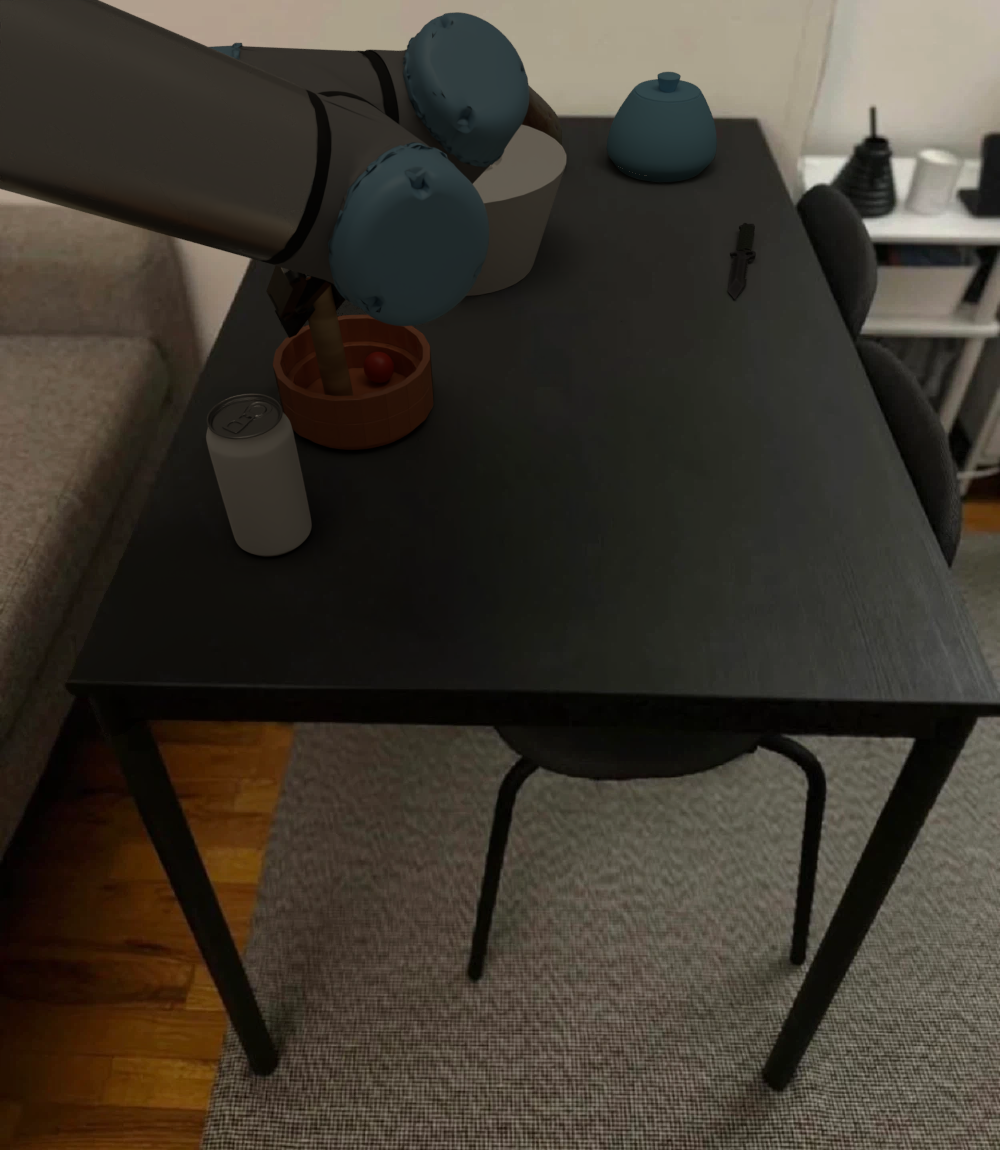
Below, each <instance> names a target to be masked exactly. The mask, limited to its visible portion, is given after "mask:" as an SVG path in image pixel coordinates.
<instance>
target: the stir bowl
mask: <svg viewBox="0 0 1000 1150" xmlns="http://www.w3.org/2000/svg"><path fill="white" fill-rule="evenodd" d="M337 317H338V322H339V327H340V331H341V336H342V341H343V346H344V351H345V356H346V361H347V366H348V371H349V375H350V380H351V385H352V390H353V396H331V395H325V393H324V388H323V384H322V380H321V375H320V371H319V366H318V362H317V358H316V353H315V349H314V344H313V340H312V336H311V331H310V327H309V324H306V325H303V327H302V328H301V329H300V331H299V332H298V333H297V335H296V336H293V337H291V338H289V337H288V336H287V337H285V338H284V339H283V341H282V342H281V343H280V345H279V346H278V347H277V348H276V349H275V352H274V356H273V360H272V368H273V373H274V378H275V383H276V387H277V392H278V397H279V403H280V404H281V406H282V409H283V413H284V414H285V415H286V416H287V417H288V419H289V421H290V423H291V426H292V430H293V432H295V433H296V434H297V435H298V436H300V437H302V438H304V439H306V440H308V441H310V442H312V443H314V444H316V445H320V446H322V447H326V448H329V449H335V450H345V451H358V450H368V449H373V448H379V447H381V446H386V445H390V444H391V443H394V442H397V441H398V440H399V441H400V440H401V439H402V438H404V437H406V436H408V435H409V434H411V433H412V432H413V431H414V430H415V429H416V428H418V427H419V426H420V425H421V424H423V422H425V420H427V418H428V416H429V415H430V412H431V411H432V409H433V407H434V379H433V366H432V351H431V345H430V343H429V342H428V339H427V338H426V336H425V334H424V333H422V332H421V331H420V330H419V329H417V328H416V327H415V326H414V325H413V326H395V325H391V324H386V323H383V322H381V321H378V320H376V319H374V318H372V317H371V316H369V315H368V314H343V315H337ZM373 352H383V353H386V354H387V355H389V356H390V357H391V359H392V361H393V363H394V372H393V375H392V377H391V378H390V379H389V380H388V381H386V382H383V383H375V382H373V381H371V380H369V379H368V378H367V376H366V375H365V373H364V369H363V365H364V361H365V359H366V358H367V356H368V355H370V354H371V353H373Z"/></svg>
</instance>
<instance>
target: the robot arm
mask: <svg viewBox="0 0 1000 1150" xmlns="http://www.w3.org/2000/svg"><path fill="white" fill-rule="evenodd" d="M529 86H530V85H529V78H528V75H527V73H526V69H525V66H524V63H523V60H522V58H521V56H520V54H519V53H518V50H517V48H516V47H515V46H514V45H513V43H512V42H511V41H510V40H509V38H508V37H507V36H506V35H505V34H504V33H503V32H502V31H500V30H499V28H497V27H496V26H495V25H493V24H492V23H490V22H489V21H487V20H485V19H484V18H481V17H479V16H477V15H474V14H471V13H466V12H460V11H459V12H446V13H443V14H442V15H438V16H437V17H435V18H433V19H430V21H428V22H427V23H426V24H424V25H423V27H422V28H421V29H420V31H418V32H417V33H416V35H415V36H412V37H410V38H409V40H408V44H407V45H406V49H403V50H402V49H401V50H392V49H391V50H390V49H365V50H347V49H346V50H344V49H343V50H341V49H321V48H320V49H319V48H317V49H316V48H299V47H298V48H296V47H275V46H251V45H250V46H249V45H248V46H247V45H243V42H234V43H233V44H232V45H217V46H216V45H214V46H207V45H205V44H203V43H201V42H198V41H196V40H193V39H191V38H188V37H187V36H184V35H181V34H179V33H177V32H175V31H172V30H170V29H168V28H165V27H162V26H161V25H158V24H156V23H153V22H151V21H148V20H146V19H144V18H142V17H139V16H138V15H137V16H136V15H135V14H132V13H130V12H127V11H126V10H124V9H123V10H122V9H120V8H118V7H116V6H113V5H111V4H109V3H106V2H104V1H102V0H0V190H2V191H7V192H10V193H14V194H17V195H21V196H23V197H24V196H25V197H27V198H31V199H35V200H38V201H43V202H46V203H49V204H54V205H57V206H60V207H64V208H67V209H72V210H75V211H79V212H82V213H85V214H89V215H92V216H96V217H100V218H103V219H108V220H111V221H115V222H118V223H122V224H126V225H129V226H132V227H136V228H139V229H143V230H147V231H151V232H154V233H157V234H158V233H159V234H161V235H164V236H169V237H172V238H176V239H179V240H183V241H186V242H189V243H193V244H197V245H201V246H204V247H208V248H212V249H214V250H215V249H216V250H218V251H221V252H222V251H223V252H226V253H229V254H233V255H237V256H240V257H244V258H248V259H251V260H255V261H258V262H261V263H265V264H270V265H272V266H274V269H273V272H272V274H271V277H270V279H269V283H268V285H267V288H266V293H267V296H268V297H269V299H270V301H271V303H272V306H273V307H274V309H275V310H274V313H275V315H276V316H277V318H278V320H279V322H280V324H281V326H282V327H283V329H284V332H285V333H286V336H287V337H289V338H291V337H293V336H296V335H297V333H298V332H299V331H300V329H301V328H302V327H304V326H305V324H306V323H307V322H308V319H309V317H310V316H311V315H312V313H313V312H314V311H315V308H314V306H313V304H314V303H315V302H316V300H317V299H318V298H319V297H320V296H321V295H322V294H323V293H324V292H325V291H326V290H327V289H328V287H329V286H330V285H331V288H332V292H333V297H334V302H335V307H336V312H338V310H339V308H341V306H342V304H343V303H344V302H345V301H348V302H349V303H350V304H352V305H353V306H354V307H357V308H359V309H361V310H362V311H363V312H364V313H365V314H366V315H369V316H371V317H372V318H374V319H376V320H378V321H381V322H383V323H386V324H391V325H395V326H413V327H414V326H418V325H423V324H426V323H429V322H431V321H434V320H437V319H439V318H441V317H442V316H444V315H446V314H447V313H449V312H450V311H451V310H452V309H454V308H455V307H456V306H458V304H459V303H460V302H462V301H463V300H464V298H466V297H467V296H466V295H467V293H468V292H469V291H470V290H471V288H472V287H473V285H474V283H475V282H476V279H477V277H478V275H479V274H480V272H481V269H482V265H483V263H484V261H485V258H486V255H487V251H488V245H489V221H488V216H487V211H486V208H485V206H484V203H483V200H482V199H481V197H480V195H479V193H478V191H477V190H476V188H475V187H474V186H473V183H474V182H475V181H476V180H477V179H478V178H479V177H480V176H481V174H482V173H483V172H484V171H485V170H486V169H487V168H488V167H489V166H490V165H493V163H494V162H496V161H498V160H499V159H500V157H501V156H502V155H503V153H504V150H505V148H506V146H507V145H508V143H509V142H510V140H511V139H512V137H513V136H514V134H515V133H516V132H517V130H518V129H519V127H520V126H521V124H522V123H523V121H524V118H525V116H526V113H527V110H528V105H529Z"/></svg>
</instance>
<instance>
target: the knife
mask: <svg viewBox="0 0 1000 1150" xmlns="http://www.w3.org/2000/svg"><path fill="white" fill-rule="evenodd" d="M755 228H756V225H755V224H754V223H748V222H743V223H742V224H739V226H738V230H739V233H738V239H737V246H736V251H730V252H729V257H730V258H732V262H731V268H730V274H729V279H728V287H727V292H728V293H729V295H730V296H731V297H732V298H733V299H734V300H736V299H737V298H738V296H739V295H740V294H741V293H742V292H743V290H744V288H745V287H746V285H747V275H748V270H749V269H748V267H749V261H751V260H756V256H757V252H756V251H755V250H752V249H753V244H754V237H755V231H756V230H755Z"/></svg>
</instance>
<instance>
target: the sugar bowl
mask: <svg viewBox="0 0 1000 1150" xmlns="http://www.w3.org/2000/svg"><path fill="white" fill-rule="evenodd" d="M681 77H682V76H681V75H680V74H679V73H678V72H676V71H675V72H674V71H662V72H660V73H658V74H657V78H655V79H648V80H645V81H642V82H640V83H637V84H636V85H635V86H634V87H633V88H632V90H631V91H630V92H629V94H628V95H627V96H626V98H625V99H624V100H623V102H622V103H621V105H620V107H619V109H618V110H617V112H616V113H615V115H614V117H613V121H612V122H611V125H610V128H609V131H608V135H607V140H606V152H607V154H608V156H609V158H610V160H611V162H612V163H613V164H614V166H616V168H617V169H618V170H619V171H620V172H621V173H623V174H624V175H626V176H628V177H630V178H634V179H636V180H641V181H647V182H653V183H673V182H680V181H685V180H686V181H687V180H688V179H692V178H694V177H696V176H698V175H700V173H702V172H703V171H705V169H706V168H707V167H708V166H709V165H710V164H711V163H712V162H713V161H714V159H715V156H716V155H717V147H718V141H717V140H718V139H717V138H718V137H717V128H716V123H715V119H714V115H713V113H712V110H711V109H710V106H709V104H708V101H707V99H706V97H705V95H704V94H703V92H702V90H701V89H700V88H699V86H697V85H696V84H694V83H692V82H689V81H685V80H681ZM618 166H619V167H618ZM620 167H621V168H620ZM622 168H623V169H622ZM629 171H630V172H629ZM632 172H633V173H632ZM635 173H636V174H635ZM639 174H640V175H639ZM644 175H647V176H644Z"/></svg>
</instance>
